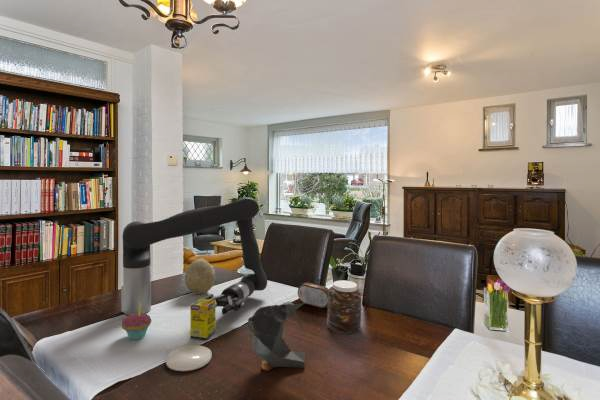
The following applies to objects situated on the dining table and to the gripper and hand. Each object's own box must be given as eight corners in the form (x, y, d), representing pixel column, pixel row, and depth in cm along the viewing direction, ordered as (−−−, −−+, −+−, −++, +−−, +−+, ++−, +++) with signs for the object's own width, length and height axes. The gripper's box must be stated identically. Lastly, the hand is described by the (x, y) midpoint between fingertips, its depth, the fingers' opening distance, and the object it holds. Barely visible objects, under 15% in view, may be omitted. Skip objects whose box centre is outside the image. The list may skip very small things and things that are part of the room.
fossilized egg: (192, 287, 156) (192, 255, 155) (219, 289, 154) (219, 256, 153) (179, 297, 143) (179, 261, 142) (208, 299, 141) (208, 263, 140)
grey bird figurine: (253, 350, 101) (253, 290, 100) (304, 352, 101) (306, 292, 99) (243, 378, 87) (244, 309, 86) (304, 381, 86) (305, 311, 85)
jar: (364, 323, 121) (366, 282, 120) (355, 337, 111) (357, 291, 110) (333, 317, 126) (334, 277, 125) (321, 329, 116) (322, 286, 115)
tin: (332, 308, 135) (333, 287, 134) (328, 311, 132) (329, 289, 132) (300, 300, 143) (300, 280, 142) (296, 302, 140) (296, 282, 140)
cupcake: (157, 332, 111) (157, 296, 110) (136, 344, 103) (136, 305, 102) (136, 328, 113) (136, 293, 113) (114, 339, 105) (114, 301, 105)
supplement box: (207, 340, 106) (207, 306, 105) (189, 338, 107) (189, 304, 107) (216, 332, 112) (216, 299, 111) (199, 330, 113) (199, 298, 112)
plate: (156, 367, 91) (156, 362, 91) (184, 346, 102) (184, 342, 102) (194, 376, 87) (194, 371, 87) (219, 353, 99) (219, 349, 99)
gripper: (219, 282, 131) (193, 296, 116) (252, 287, 127) (230, 301, 111) (218, 301, 132) (193, 317, 116) (252, 306, 127) (230, 324, 112)
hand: (211, 310), depth 114 cm, fingers open, 8 cm apart
